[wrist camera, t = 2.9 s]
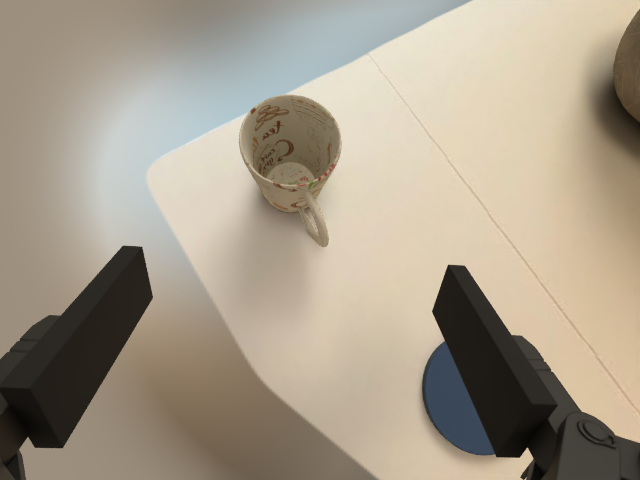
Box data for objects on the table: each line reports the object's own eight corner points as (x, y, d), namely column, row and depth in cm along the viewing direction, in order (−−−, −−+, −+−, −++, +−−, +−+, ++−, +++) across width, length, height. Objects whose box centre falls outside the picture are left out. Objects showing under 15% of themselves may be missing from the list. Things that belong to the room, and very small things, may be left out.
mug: (308, 141, 39) (314, 80, 29) (359, 238, 37) (384, 208, 27) (239, 168, 37) (222, 114, 28) (288, 271, 35) (288, 252, 25)
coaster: (441, 466, 32) (444, 470, 31) (409, 346, 34) (411, 347, 34) (544, 435, 33) (551, 438, 33) (507, 322, 36) (512, 322, 35)
